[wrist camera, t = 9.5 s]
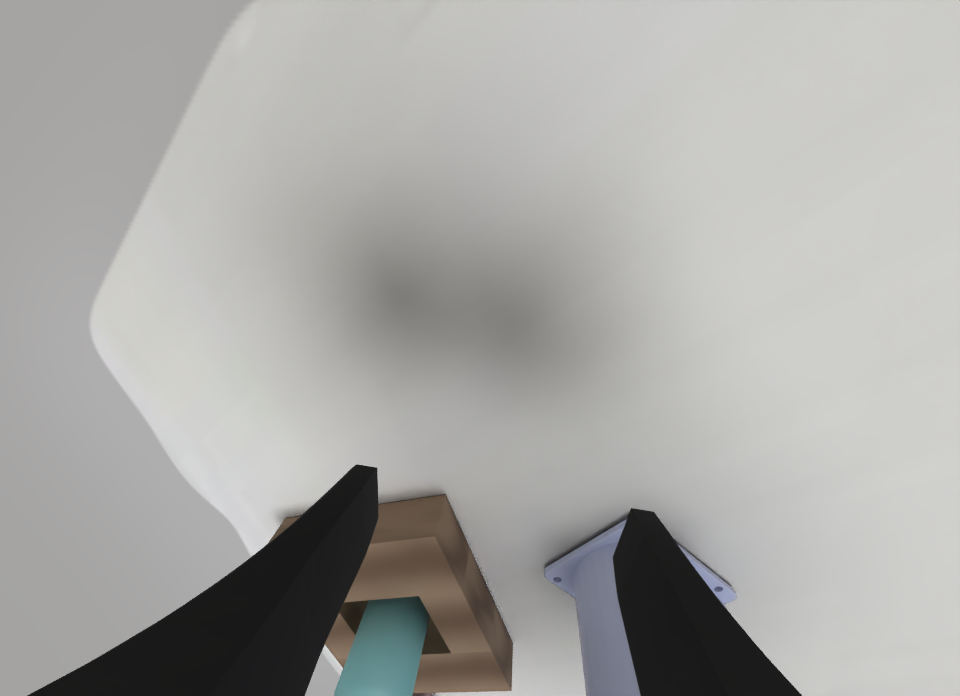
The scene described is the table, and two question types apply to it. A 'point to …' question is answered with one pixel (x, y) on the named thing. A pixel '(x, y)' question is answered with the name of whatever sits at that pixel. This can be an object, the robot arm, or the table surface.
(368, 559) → the socket block
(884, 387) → the table surface
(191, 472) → the table surface
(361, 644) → the teal peg
